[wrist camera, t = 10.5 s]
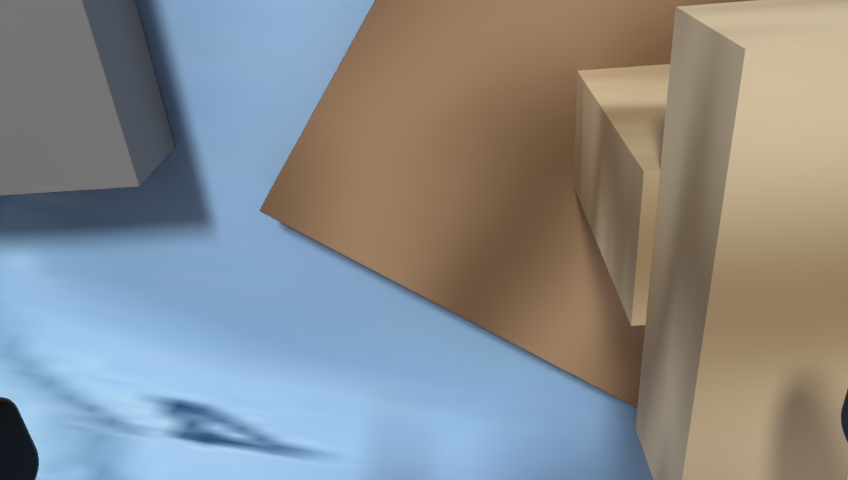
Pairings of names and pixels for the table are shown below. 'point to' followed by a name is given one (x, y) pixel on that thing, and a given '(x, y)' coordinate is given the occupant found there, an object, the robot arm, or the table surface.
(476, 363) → the table surface
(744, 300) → the t key
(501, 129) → the walnut pad
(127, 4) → the keyhole plate
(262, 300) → the table surface
